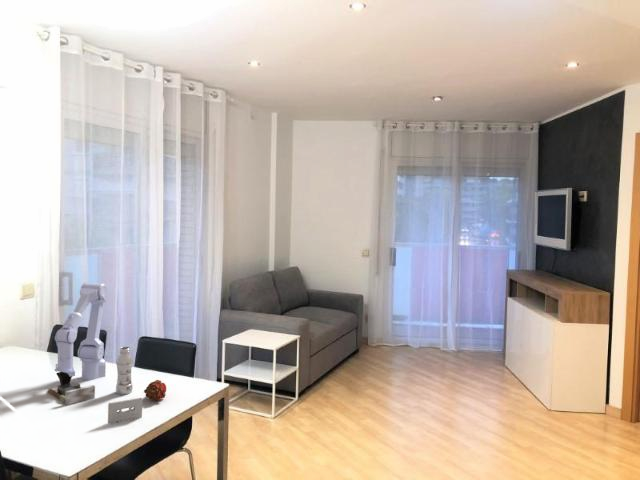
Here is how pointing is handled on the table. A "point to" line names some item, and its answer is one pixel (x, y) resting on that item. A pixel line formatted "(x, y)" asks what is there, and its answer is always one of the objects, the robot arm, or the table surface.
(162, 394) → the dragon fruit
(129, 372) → the plastic bottle
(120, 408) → the cassette
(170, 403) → the table surface
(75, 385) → the grey rectangular block
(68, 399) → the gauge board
